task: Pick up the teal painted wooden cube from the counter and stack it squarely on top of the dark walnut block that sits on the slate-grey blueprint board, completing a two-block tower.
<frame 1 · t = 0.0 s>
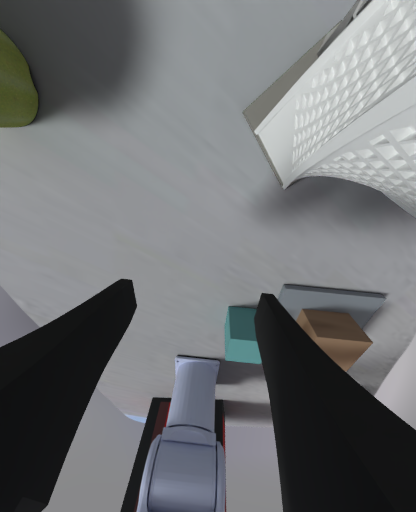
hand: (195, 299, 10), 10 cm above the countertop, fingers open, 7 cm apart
cleaning product box: (190, 405, 42), on the countertop
skyscraper: (300, 136, 14), on the countertop
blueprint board: (313, 321, 24), on the countertop
plant pot: (2, 80, 13), on the countertop
teal cube: (241, 318, 25), on the countertop
walnut block: (316, 326, 23), point 1 cm above the countertop, touching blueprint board
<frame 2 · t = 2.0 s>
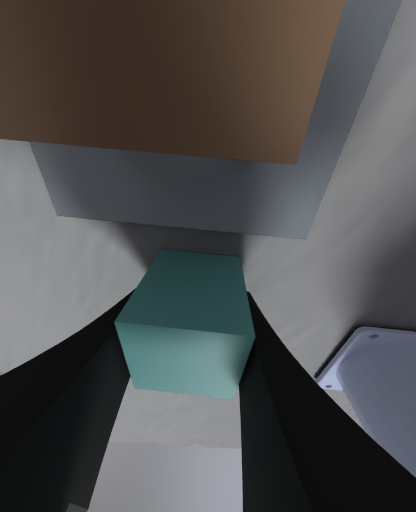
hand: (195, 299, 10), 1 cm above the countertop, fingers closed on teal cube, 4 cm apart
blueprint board: (183, 53, 6), on the countertop
teal cube: (198, 283, 11), on the countertop, touching gripper
walnut block: (178, 39, 5), point 1 cm above the countertop, touching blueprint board
when the fingers open (7 cm above the countertop, at t = 4.8 s): teal cube stays where it is, resting on walnut block.
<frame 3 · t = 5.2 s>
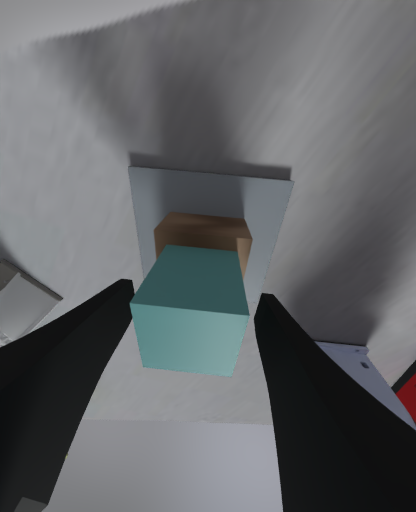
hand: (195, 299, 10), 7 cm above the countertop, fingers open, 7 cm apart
skyscraper: (31, 292, 21), on the countertop
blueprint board: (205, 244, 16), on the countertop
teal cube: (199, 276, 12), point 5 cm above the countertop, touching walnut block
walnut block: (204, 248, 15), point 1 cm above the countertop, touching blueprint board, teal cube
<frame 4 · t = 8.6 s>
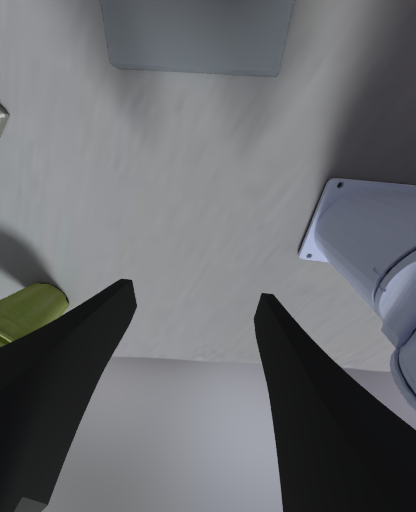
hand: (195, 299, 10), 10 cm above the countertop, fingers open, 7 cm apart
plant pot: (52, 295, 28), on the countertop
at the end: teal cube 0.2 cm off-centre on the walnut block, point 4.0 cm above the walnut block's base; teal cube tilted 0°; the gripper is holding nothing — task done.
